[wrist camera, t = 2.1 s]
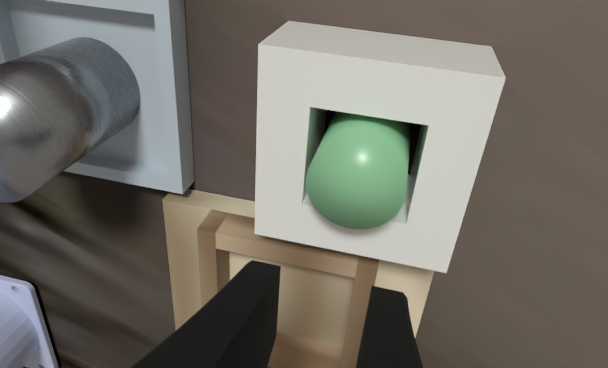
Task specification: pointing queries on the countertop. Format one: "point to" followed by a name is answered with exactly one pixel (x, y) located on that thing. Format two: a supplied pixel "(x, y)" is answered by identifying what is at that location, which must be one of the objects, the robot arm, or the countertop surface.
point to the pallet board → (281, 279)
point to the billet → (60, 110)
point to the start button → (360, 170)
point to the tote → (146, 67)
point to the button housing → (382, 104)
